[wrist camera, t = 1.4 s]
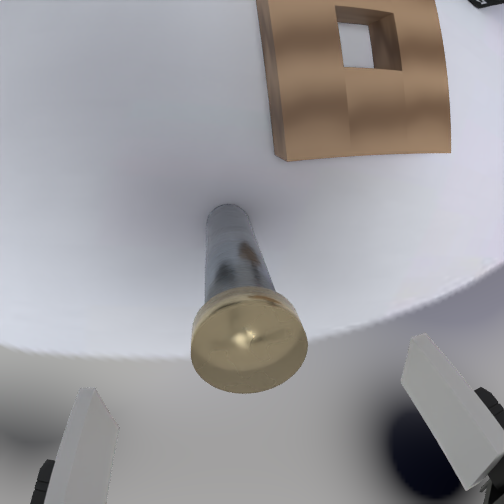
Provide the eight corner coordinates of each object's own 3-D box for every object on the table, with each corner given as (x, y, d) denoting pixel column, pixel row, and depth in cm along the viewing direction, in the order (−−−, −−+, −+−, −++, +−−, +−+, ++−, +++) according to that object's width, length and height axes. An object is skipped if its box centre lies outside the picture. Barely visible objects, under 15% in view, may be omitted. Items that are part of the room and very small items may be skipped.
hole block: (249, -40, 20) (257, -65, 15) (399, -25, 21) (424, -39, 16) (274, 154, 28) (287, 161, 23) (421, 146, 29) (450, 153, 25)
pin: (196, 202, 29) (178, 316, 12) (252, 194, 29) (306, 295, 13) (205, 254, 31) (204, 399, 15) (258, 246, 31) (307, 382, 15)
